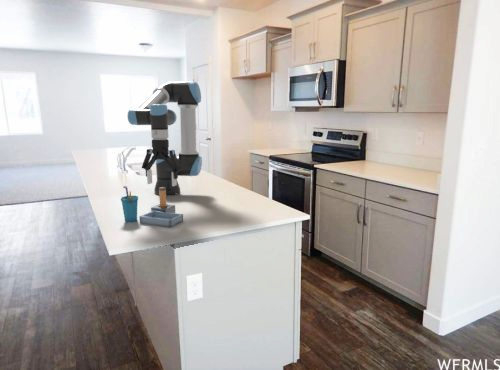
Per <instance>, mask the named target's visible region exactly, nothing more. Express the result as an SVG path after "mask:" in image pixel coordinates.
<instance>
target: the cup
mask: <svg viewBox="0 0 500 370" xmlns="http://www.w3.org/2000/svg"><path fill="white" fill-rule="evenodd" d="M123 188H124V189H125V192H126V193H125V195H124V196H122V197H120V201H121V205H122V211H123V217H124V222H125V221H126V223H133V222H137V220H138V200H139V196H138V195H132V192H131V191H129V190H128V186H127V185H125V186H124V185H123Z"/></svg>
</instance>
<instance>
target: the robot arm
mask: <svg viewBox="0 0 500 370" xmlns="http://www.w3.org/2000/svg"><path fill="white" fill-rule="evenodd" d="M201 101H202V92H201V88H200V86H199V83H198V82H196V81H189V80H186V81H185V80H184V81H175V80H174V81H168V82H164V83H162V84H160V85H158V86H157V87H156V88H155V89H154V90H153V91H152V94H151V95H150V96H149V97H148V98H147V99H146V100H145V101H144V102H143V103H142V104H141V105H140V106H139V107H137V108H132V109H131V108H130V109H129V110H128V111H127V121H128V122H129V124H130V125H132V126H150V129H151V131H150V133H151V135H150V136H151V147H152V148H147V149H146V153H145V156H144V159H143V163H142V165H141V168H142V169H144V170H145V177H146V181H147V185H150V184H153V170H152V167H153V165H154V164H155V167H156V183H155V185H154V192H153V193H154V194H155V195H159V188H160V187H165V188H166V196H172V195H173V196H174V195H178V194H180V193H181V188H180V184H179V181H178V178H179V177H181V176H182V177H197V176H199V175H200V173H201V170H202V165H203V159H202V156H200V155H199V154H200V153H199V151H197V138H196V137H197V136H196V135H197V132H196V131H197V130H196V129H197V125H196V124H197V123H196V109H197V108H198V106H199V103H201ZM168 103H176V104H177V107H178V108H179V111H180V112H179V113H180V149H181V150H180V151H179V152H178V155H177V154H176V150H175V149H171V150H169V145H170V144H169V143H170V142H169V126H171V125H173V124H175V123H176V121H177V114H176V112H175V111H174V110H171V109H169V108H168V106H167V104H168Z"/></svg>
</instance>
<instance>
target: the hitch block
mask: <svg viewBox="0 0 500 370" xmlns="http://www.w3.org/2000/svg"><path fill="white" fill-rule="evenodd" d="M151 211H161V212H169V213H176V204H167V203H166V207H165V208H162V207H160V203H159V204H157V205H154V206H151V207H150V212H151Z"/></svg>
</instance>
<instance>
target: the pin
mask: <svg viewBox="0 0 500 370" xmlns="http://www.w3.org/2000/svg"><path fill="white" fill-rule="evenodd" d="M159 204H160V207H162V208H165V207H166V204H167V195H166V188H165V187H160V188H159Z"/></svg>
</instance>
